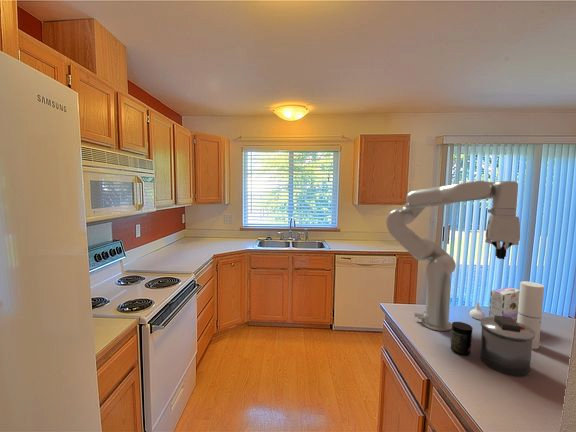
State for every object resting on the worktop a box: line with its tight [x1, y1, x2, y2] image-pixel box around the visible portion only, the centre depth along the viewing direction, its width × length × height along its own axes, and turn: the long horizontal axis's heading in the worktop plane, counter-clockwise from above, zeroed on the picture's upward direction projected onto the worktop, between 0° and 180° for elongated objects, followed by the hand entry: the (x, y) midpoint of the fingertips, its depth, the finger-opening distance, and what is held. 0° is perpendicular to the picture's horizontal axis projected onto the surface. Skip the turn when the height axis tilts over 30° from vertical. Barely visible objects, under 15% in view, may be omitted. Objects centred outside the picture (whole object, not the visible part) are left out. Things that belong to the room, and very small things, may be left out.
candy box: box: [488, 286, 520, 322], centre depth 127 cm, size 14×6×16 cm, turn 110°
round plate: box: [480, 315, 535, 340], centre depth 97 cm, size 16×15×3 cm
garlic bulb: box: [469, 301, 486, 321], centre depth 135 cm, size 6×6×8 cm
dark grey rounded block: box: [479, 326, 533, 378], centre depth 98 cm, size 14×14×12 cm
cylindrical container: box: [517, 280, 545, 350], centre depth 110 cm, size 7×7×25 cm
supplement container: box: [450, 321, 473, 357], centre depth 105 cm, size 7×7×10 cm
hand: (500, 258), depth 109 cm, fingers closed
